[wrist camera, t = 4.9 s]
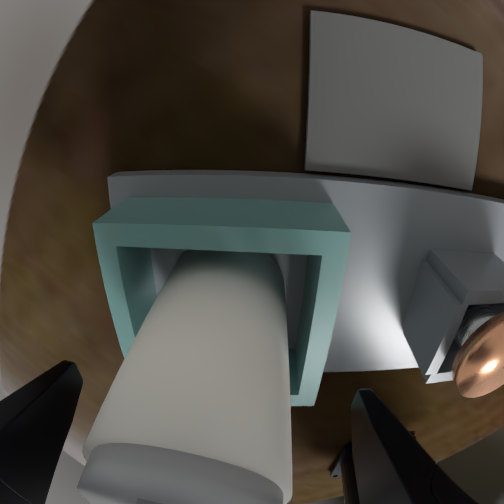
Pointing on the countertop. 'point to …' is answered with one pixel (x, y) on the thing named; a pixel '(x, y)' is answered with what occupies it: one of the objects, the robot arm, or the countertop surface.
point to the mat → (391, 102)
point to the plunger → (479, 352)
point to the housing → (316, 260)
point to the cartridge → (200, 393)
